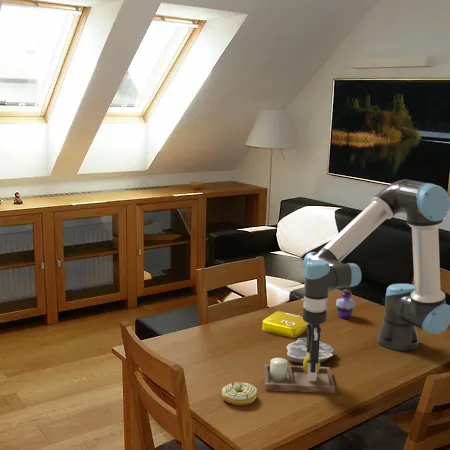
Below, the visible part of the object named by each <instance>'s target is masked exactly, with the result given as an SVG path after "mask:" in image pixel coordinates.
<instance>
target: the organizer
mask: <svg viewBox="0 0 450 450" xmlns="http://www.w3.org/2000/svg"><path fill="white" fill-rule="evenodd" d="M263 373H264V374H263V375H264V377H263V378H264V390H265V391H282V392H283V391H284V392H304V393H305V392H307V393H324V394H325V393H330V394H331V393H332V394H336V385H335V382H334V379H333V374H332V371H331V369H330V367H329V366H327V367H326V366H320V369H319V372H318V373H317V377H316V381H308V375H307V374H306V373H305V372H304V369H303V365H288V368H287V380H286V381H285V382H280V383H279V382H274V381H272V380H270V364H263Z"/></svg>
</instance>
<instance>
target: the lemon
mask: <svg viewBox="0 0 450 450" xmlns="http://www.w3.org/2000/svg"><path fill="white" fill-rule="evenodd" d="M307 360H310V354H309V355H307V356H306V357H305V359H304V361H303V364H302V366H303V369H304V372H305V373H306V374H307V375H308V364H309V363H307ZM318 361H319V359H318ZM320 367H321V362H320V361H319V362H318V364H317V373H318V372H319V369H320Z"/></svg>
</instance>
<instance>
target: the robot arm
mask: <svg viewBox="0 0 450 450" xmlns="http://www.w3.org/2000/svg"><path fill="white" fill-rule="evenodd" d="M449 211H450V195H449V194H448V192H447V191H446V189H444V188H443V187H442V186H440V185H437V184H434V183H431V182H422V181H418V180H417V181H416V180H411V179H401V180H397V181H395V182H392V183H390V184H389V185H388V186H386V187H384V188H383V189H381V190H380V191H378V192H377V194H375V195H374V196H373V197H372V198H371V200H370V204H369V205H368V206H366V208H364V209H363V210H362V211H361V212H360V213H359V214H358V215H357V216H356V217H354V218H353V219H352V220H351V221H350V222H349V223H348V224H347V225H345V227H344V228H343V229H342V230H340V232H338V233H337V234H336V235H335V236H334V237H333V238H332V239H331V240H330V241H328V242H327V244H325V246H323V247H322V248H321V249H320V250H318V251H317V252H316V251H310V252H308V253H307V254H306V255H305V256H304V257H303V261H302V263H303V268H304V280H303V281H304V284H303V285H304V286H303V298H301V301H302V302H303V309H302V316H303V320H304V321H305V322H307V323H308V324H307V330H306V334H307V335H306V338H307V345H306V347H307V352H308V353H307V355H309V354H310V360H307V363H309V364H308V381H316V377H317V364H318V362H319V361H318V359H319V342H320V341H321V332H322V331H321V327H320V325H321V324H324V323H326V321H327V313H328V312H327V309H328V302H329V301H328V299H329V298H328V297H329V296H328V295H329V291H330V290H337V289H345V288H346V289H347V288H351V287H356V286H358V285H359V284H360V283H361V281H362V271H361V268H360V266H359V265H358V264H356V263H351V262H347V263H343V262H342V261H343V260H344V259H345V258H346V257H347V256H348V255H349V254H350V253H351V252H352V251H353V250H355V248H357V247H358V246H359V245H360V244H361V243H362V242H363V241H364V240H365V239H366V238H368V237H369V236H370V234H371V233H373V231H375V230H376V229H377V228H378V227H379V226H380V225H381V224H382V223H383V222H384V221H386V220H390V219H392V218H393V217H394V216H395V215H398V214H399V213H403V214H406V224H407V225H408V226H409V227H410V228H411V237H412V239H411V240H412V259H413V279H414V280H413V284H410V283H392V284H390V285H388V287H387V288H386V293H385V301H384V313H383V322H382V325H381V327H380V328H379V331H378V333H377V337H376V338H377V342H378V345H381V346H383V347H384V348H386V349H391V350H394V351H404V352H406V351H414V350H415V349H417V348H419V341H420V339H419V337H418V331H417V328H419V329H420V330H422V331H424V332H425V333H430V334H432V335H438V334H441V333H443V332H444V331H446V329H448V327H449V326H450V305H449V304H447V303H446V293H445V292H444V291H442V290H441V272H440V271H441V269H440V266H441V265H440V264H441V263H440V243H439V242H440V239H439V237H440V236H439V226H440V225H442V224H443V221H444V219H445V218H446V217H447V216H448V212H449ZM416 327H417V328H416Z"/></svg>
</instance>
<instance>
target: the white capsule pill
mask: <svg viewBox="0 0 450 450" xmlns="http://www.w3.org/2000/svg"><path fill="white" fill-rule="evenodd" d="M288 364H289V363H288V360H287V359H285V358H282V357H273V358H272V359H270V364H269V365H270V380H272V381H274V382H279V383H280V382H285V381H286V380H287V368H288V366H289V365H288Z"/></svg>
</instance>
